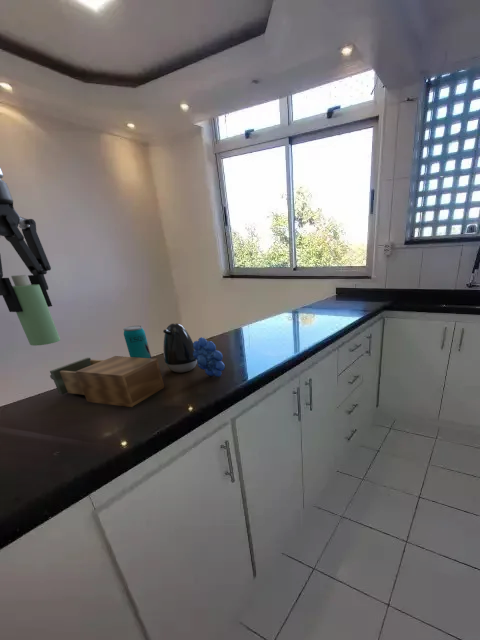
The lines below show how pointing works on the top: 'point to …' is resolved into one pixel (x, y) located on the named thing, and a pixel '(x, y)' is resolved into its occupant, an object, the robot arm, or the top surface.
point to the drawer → (70, 376)
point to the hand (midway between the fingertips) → (31, 308)
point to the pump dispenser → (178, 349)
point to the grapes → (208, 357)
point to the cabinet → (121, 380)
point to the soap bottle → (34, 313)
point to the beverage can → (136, 342)
